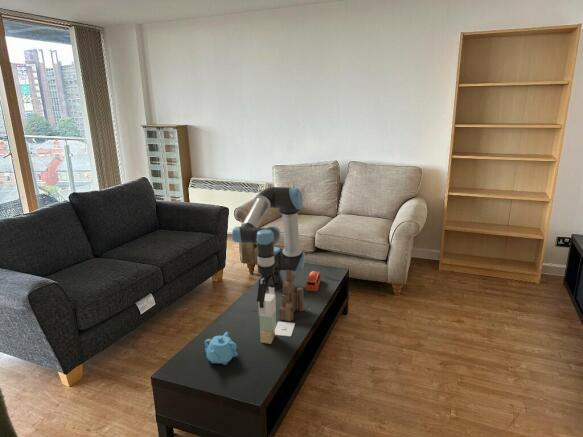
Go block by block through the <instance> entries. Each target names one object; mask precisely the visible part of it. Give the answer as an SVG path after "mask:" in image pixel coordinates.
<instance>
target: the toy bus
mask: <svg viewBox="0 0 583 437" xmlns="http://www.w3.org/2000/svg"><path fill="white" fill-rule="evenodd" d="M321 280H322V278H321V273H320V271H316V270H315V271H314V270H313V271H311V272H310V273H309V275H308V278H307V279H306V282H305V291H306V292H315V293H316V292H318V291H319V286H320V283H321Z"/></svg>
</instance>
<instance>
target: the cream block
mask: <svg viewBox="0 0 583 437" xmlns="http://www.w3.org/2000/svg"><path fill="white" fill-rule="evenodd" d="M276 297H277V296H276V294H269V293H267V292H266V294H265V299H264V300H265V309H266V314H260V313H259V312H258V316H259V317H260V316H266V317H272V315H273V314H274V312H275V310H276V311H277V306H276V304H277V300H276ZM257 303H258V305H259V302H257Z"/></svg>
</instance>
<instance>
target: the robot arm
mask: <svg viewBox="0 0 583 437" xmlns="http://www.w3.org/2000/svg"><path fill="white" fill-rule="evenodd" d="M302 194H303V193H302V191H301V190H300V188H298V187H293V186H291V187H282V186H279V187H278V186H277V187H276V186H271V187H266V188H265V189H263V190H261V191H260V192H259V193H257V195H256V196H255V197H254V199H253V201H252V203H253V204H252V206H251V208H250V210H249V212H248V214H247V215H246V217H245V219H244V221H242V224H241V226H235V227H233V228H232V231H231V238H232V241H233V242H235V243H238V244H239V243H240V244H256V253H257V254H256V259H257V273H258V274H260V276H259V279H258V288H257V296H256V302H257V303H258V302H259V304H258V314H259V313H260V314H266V309H265V300H264V299H265V294H266V293H267V291H268V294H275V290H279V289H281V288H283V284H284V282H285V280H284V278H283V275H282V273H281V271H285V272H286V271H287V270H288V271H291V272H301V271H303V269H304V265H305V259H306V252H304V251H303V249H302V247H301V246H300V235H299V223H298V222H299V221H298V217H299V216H298V213H300V211H301V209H302V208H303V195H302ZM270 209H278V212H279V214H281V216H282V218H281V219H282V227H283V242H284V243H283V244H284V248H283V249H282V250H281V248H280V247H278V246H275V245H276V244H277V242H279V240H280V238H281V231H280V229H279V228H278V227H277V226H275V225H271V226H268V227H259V226H260V224H261V222H262V220H263V218H264V216H265V214H266V212H267V211H269V210H270ZM275 295H276V294H275Z"/></svg>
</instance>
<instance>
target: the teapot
mask: <svg viewBox="0 0 583 437" xmlns="http://www.w3.org/2000/svg"><path fill="white" fill-rule="evenodd" d="M229 333H230V332H228V331H226V332H224V334H223V335H214V336H213V337H212V338H208V339H207V338H206V339H205V341H204V346H205V348H204V352H205V353H206V358H207V360H208V361H209V362H210V363H211V364H222V365H223V366H226V365H228V363H229V362H230V361H231V360H232V359H233V358H234V357H237V356H238V354H239V353H238V352H237V351H236V350H237V344H236V343H235V342H234V341H233V339H232V338H230V336H229V335H230V334H229ZM208 342H209V344H208Z"/></svg>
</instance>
